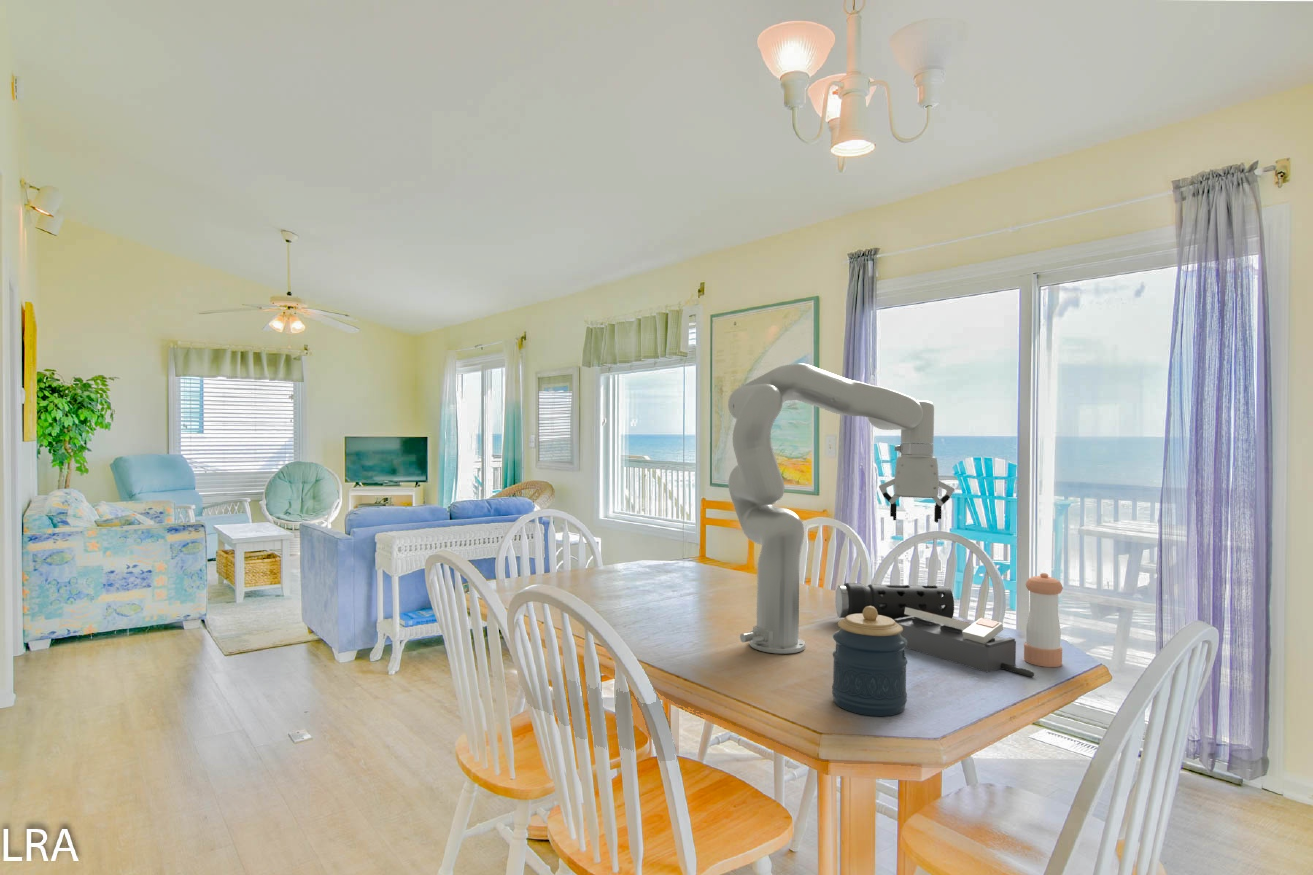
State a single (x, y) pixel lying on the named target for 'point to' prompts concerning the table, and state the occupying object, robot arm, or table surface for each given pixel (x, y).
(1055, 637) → the pepper shaker
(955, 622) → the rocker
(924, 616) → the bar
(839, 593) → the muzzle brake
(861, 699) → the canister
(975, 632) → the rocker
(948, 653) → the strip
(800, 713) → the table surface
